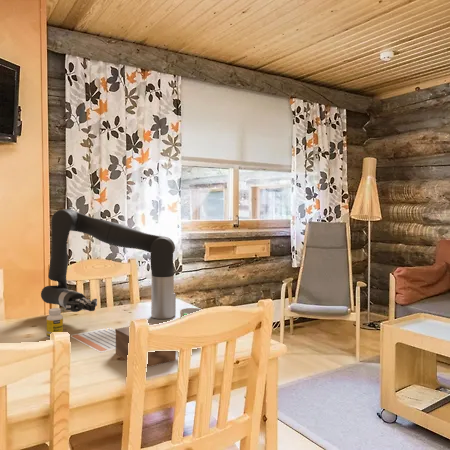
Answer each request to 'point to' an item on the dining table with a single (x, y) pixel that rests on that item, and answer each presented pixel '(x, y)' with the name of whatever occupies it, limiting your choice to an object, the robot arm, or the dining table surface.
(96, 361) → the dining table surface
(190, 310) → the cup
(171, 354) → the walnut box
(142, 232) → the robot arm
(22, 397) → the dining table surface
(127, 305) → the dining table surface
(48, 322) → the supplement bottle
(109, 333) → the letter
